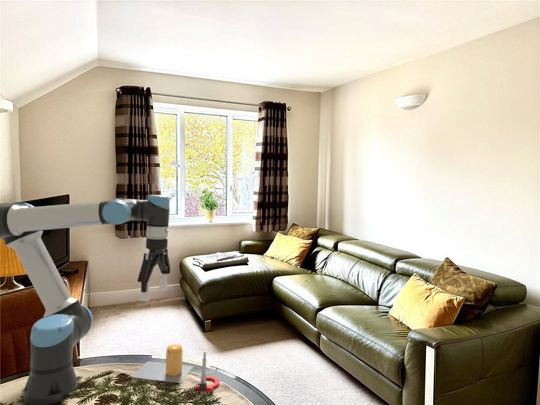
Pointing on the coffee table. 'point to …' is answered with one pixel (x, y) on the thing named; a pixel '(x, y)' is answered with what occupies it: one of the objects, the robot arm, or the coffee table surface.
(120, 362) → the coffee table surface
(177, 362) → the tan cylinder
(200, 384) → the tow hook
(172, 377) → the board
